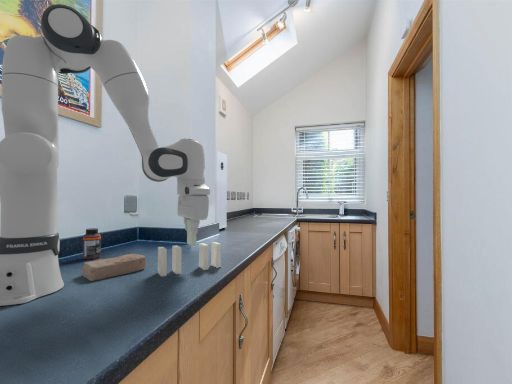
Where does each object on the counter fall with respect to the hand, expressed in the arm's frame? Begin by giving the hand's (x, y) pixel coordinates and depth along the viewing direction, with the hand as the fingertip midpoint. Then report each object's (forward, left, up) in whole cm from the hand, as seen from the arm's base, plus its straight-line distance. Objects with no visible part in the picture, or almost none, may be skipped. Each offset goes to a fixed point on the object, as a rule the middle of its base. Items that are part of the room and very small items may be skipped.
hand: (191, 231), depth 89 cm
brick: (-21, +10, -13) cm, 27 cm away
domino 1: (-9, 0, -12) cm, 15 cm away
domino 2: (-5, 0, -12) cm, 13 cm away
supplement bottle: (-27, +36, -13) cm, 47 cm away
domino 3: (+4, 0, -12) cm, 13 cm away
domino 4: (+9, 0, -12) cm, 15 cm away
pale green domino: (0, 0, -4) cm, 4 cm away
